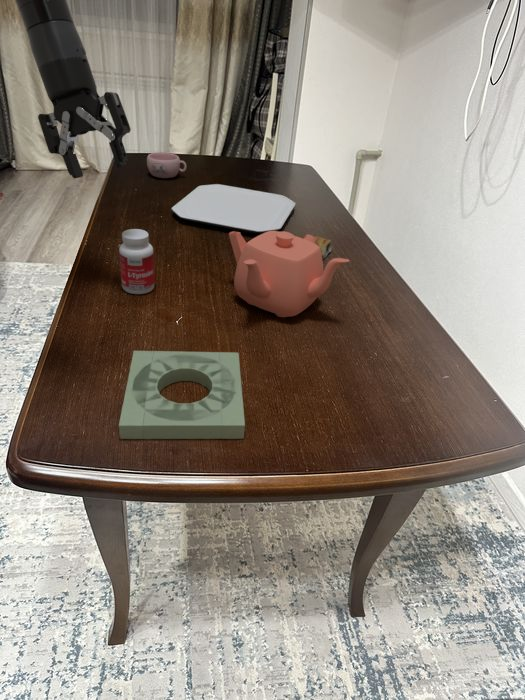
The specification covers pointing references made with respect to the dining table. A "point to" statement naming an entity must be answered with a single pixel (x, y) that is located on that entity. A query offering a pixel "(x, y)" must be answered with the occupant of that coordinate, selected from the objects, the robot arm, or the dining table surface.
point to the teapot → (281, 271)
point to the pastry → (323, 245)
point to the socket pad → (183, 418)
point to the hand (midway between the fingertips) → (100, 171)
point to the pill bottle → (136, 262)
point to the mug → (164, 164)
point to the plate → (235, 208)
